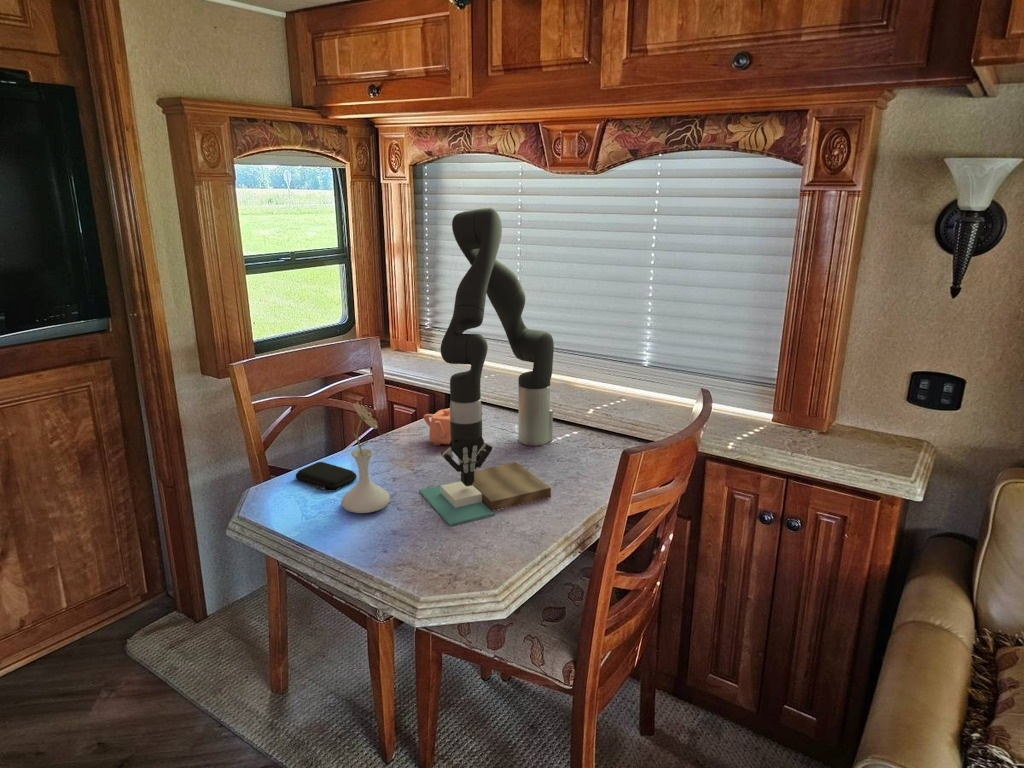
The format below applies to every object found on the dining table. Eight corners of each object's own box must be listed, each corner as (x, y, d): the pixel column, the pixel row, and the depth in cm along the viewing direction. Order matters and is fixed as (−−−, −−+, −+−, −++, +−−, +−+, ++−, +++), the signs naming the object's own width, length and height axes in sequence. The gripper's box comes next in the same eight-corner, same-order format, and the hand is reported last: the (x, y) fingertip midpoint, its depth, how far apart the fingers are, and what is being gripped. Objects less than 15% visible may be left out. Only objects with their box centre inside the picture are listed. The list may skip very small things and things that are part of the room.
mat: (459, 482, 174) (459, 481, 174) (494, 515, 157) (494, 513, 157) (418, 491, 169) (418, 489, 169) (449, 526, 152) (449, 524, 152)
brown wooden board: (516, 470, 181) (516, 461, 181) (550, 497, 166) (550, 487, 165) (460, 482, 174) (460, 473, 174) (491, 511, 159) (491, 501, 158)
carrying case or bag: (289, 483, 175) (329, 496, 168) (287, 472, 174) (328, 485, 167) (320, 469, 184) (360, 481, 176) (319, 458, 183) (359, 470, 175)
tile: (466, 487, 170) (466, 479, 170) (482, 501, 163) (482, 493, 162) (440, 493, 167) (440, 485, 167) (455, 507, 160) (454, 500, 159)
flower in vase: (393, 514, 158) (387, 411, 151) (342, 521, 155) (334, 417, 148) (386, 490, 170) (380, 395, 163) (339, 496, 167) (331, 399, 160)
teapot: (421, 437, 206) (420, 405, 203) (458, 431, 210) (457, 400, 208) (436, 453, 193) (435, 419, 190) (475, 447, 198) (474, 414, 195)
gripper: (484, 408, 166) (485, 474, 171) (433, 416, 160) (436, 484, 165) (498, 417, 160) (499, 485, 164) (445, 426, 154) (448, 496, 159)
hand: (467, 484), depth 165 cm, fingers closed
